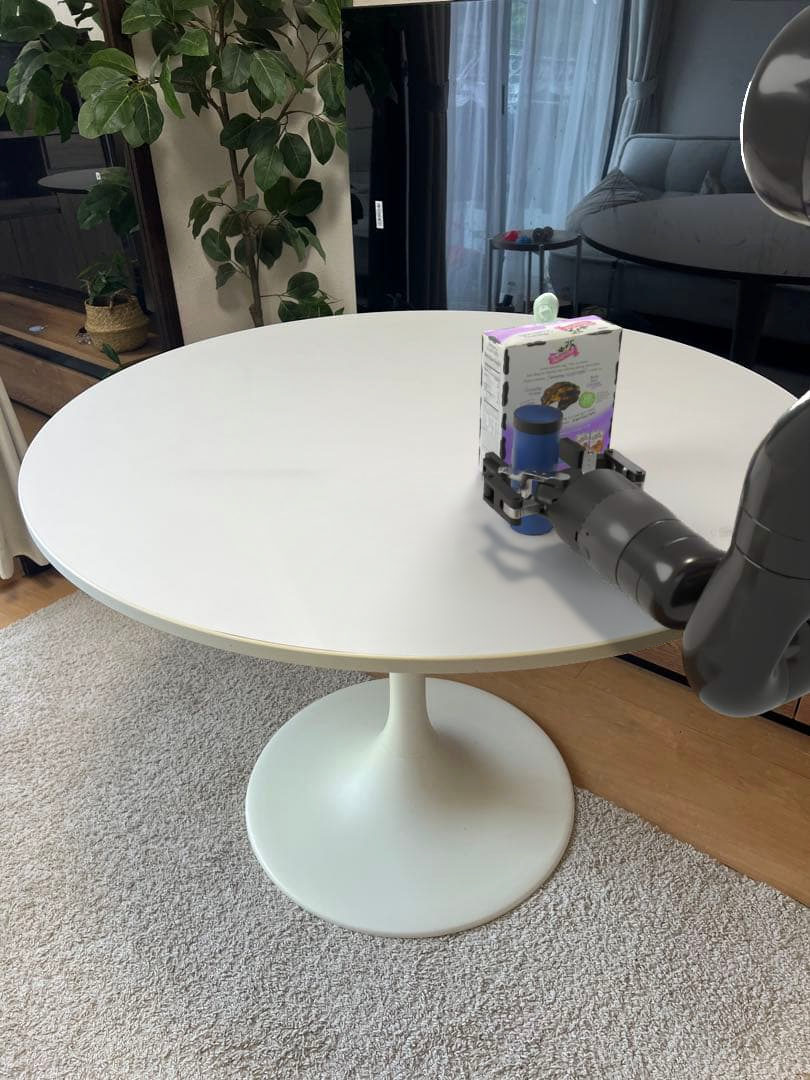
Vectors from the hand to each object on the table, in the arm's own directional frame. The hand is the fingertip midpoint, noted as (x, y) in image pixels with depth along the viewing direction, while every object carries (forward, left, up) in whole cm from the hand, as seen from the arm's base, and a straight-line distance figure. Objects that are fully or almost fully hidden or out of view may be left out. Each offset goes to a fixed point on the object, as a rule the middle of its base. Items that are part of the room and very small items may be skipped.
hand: (525, 453), depth 78 cm
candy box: (-7, -8, -7) cm, 13 cm away
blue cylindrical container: (0, +2, -7) cm, 7 cm away
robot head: (-33, -53, -7) cm, 63 cm away
